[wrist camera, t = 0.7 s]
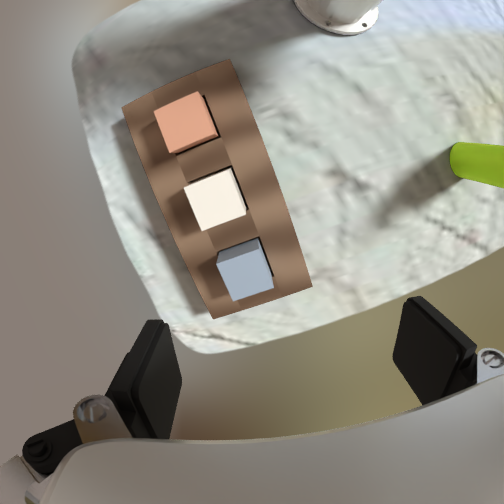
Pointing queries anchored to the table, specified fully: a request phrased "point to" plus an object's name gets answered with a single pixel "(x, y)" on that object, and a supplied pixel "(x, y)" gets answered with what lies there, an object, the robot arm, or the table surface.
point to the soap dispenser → (478, 162)
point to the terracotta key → (185, 123)
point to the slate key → (245, 270)
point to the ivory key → (215, 199)
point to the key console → (209, 163)
